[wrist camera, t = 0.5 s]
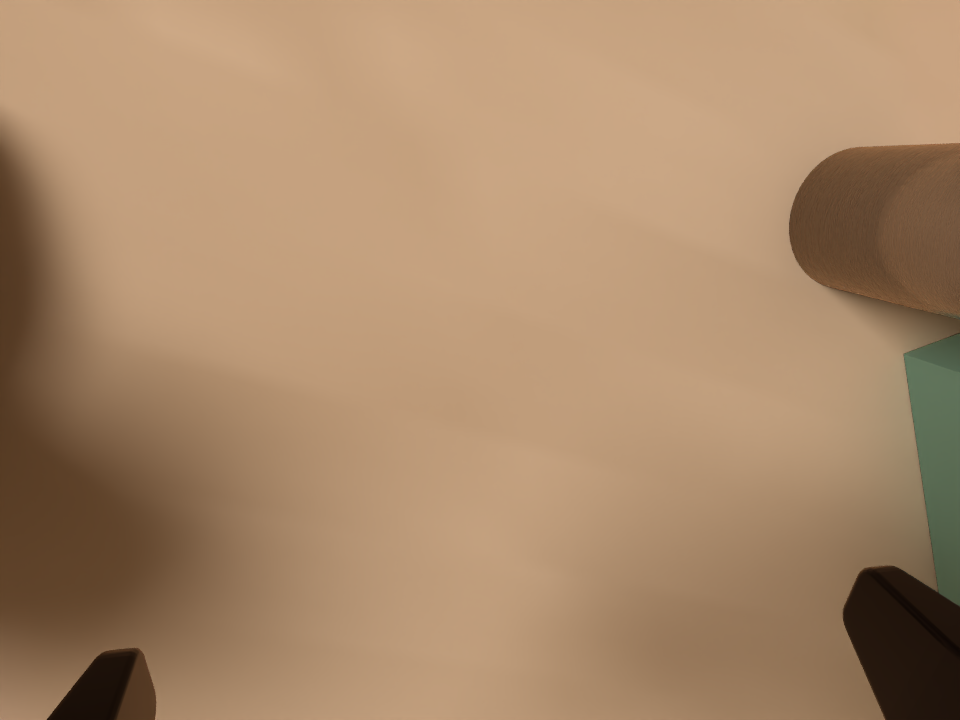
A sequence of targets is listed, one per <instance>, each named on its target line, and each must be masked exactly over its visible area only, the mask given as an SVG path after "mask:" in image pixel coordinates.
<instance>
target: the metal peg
mask: <svg viewBox="0 0 960 720" xmlns="http://www.w3.org/2000/svg"><path fill="white" fill-rule="evenodd" d="M789 235H790V242H791V246H792V250H793V253H794V255H795V258H796V260H797V262H798V263H799V265H800V266H801V268H802V269H803V270H804V272H805V273H806V274H808V275H809V276H810V277H811V278H812V279H814V280H815V281H817V282H818V283H820V284H823V285H825V286H828V287H831V288H835V289H839V290H843V291H847V292H851V293H855V294H859V295H863V296H867V297H871V298H875V299H879V300H883V301H887V302H891V303H895V304H899V305H903V306H907V307H911V308H915V309H919V310H923V311H927V312H931V313H935V314H939V315H943V316H947V317H952V318H956V319H960V143H950V144H924V145H898V146H873V147H856V148H849V149H846V150H842V151H840V152H837V153H835V154H833V155H831V156H830V157H828V158H826V159H825V160H824V161H822V162H821V163H820V164H819V165H817V166H816V167H815V168H814V169H813V170H812V171H811V173H810V174H809V175H808V176H807V178H806V179H805V180H804V182H803V183H802V185H801V187H800V189H799V191H798V193H797V195H796V197H795V200H794V203H793V206H792V210H791V214H790V222H789Z"/></svg>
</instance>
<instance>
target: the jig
mask: <svg viewBox="0 0 960 720" xmlns="http://www.w3.org/2000/svg"><path fill="white" fill-rule="evenodd" d="M904 360H905V366H906V373H907V380H908V387H909V394H910V401H911V407H912V414H913V421H914V428H915V435H916V442H917V448H918V455H919V462H920V469H921V476H922V482H923V489H924V496H925V503H926V510H927V517H928V523H929V530H930V537H931V544H932V551H933V557H934V564H935V571H936V578H937V585H938V592H939V593H940V594H941V595H943V596H944V597H946V598H948V599H949V600H951V601H952V602H954V603H956V604H957V605H959V606H960V333H959V334H956V335H953V336H951V337H948V338H945V339H943V340H940V341H937V342H935V343H932V344H929V345H927V346H924V347H921V348H918V349H916V350H913V351H910V352H908V353H905V354H904Z"/></svg>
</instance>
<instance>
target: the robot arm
mask: <svg viewBox="0 0 960 720" xmlns="http://www.w3.org/2000/svg"><path fill="white" fill-rule="evenodd" d="M843 621H844V625H845V628H846V630H847V633H848V635H849V637H850V640H851V642H852V644H853V647H854V649H855V651H856V653H857V656H858V658H859V660H860V663H861V665H862V667H863V669H864V672H865V674H866V676H867V679H868V681H869V683H870V686H871V688H872V690H873V692H874V695H875V697H876V699H877V702H878V704H879V706H880V709H881V711H882V713H883V715H884V718H885V720H960V606H959V605H957V604H956V603H954V602H952V601H951V600H949V599H948V598H946V597H944V596H943V595H941V594H940V593H938V592H936V591H935V590H933V589H932V588H930V587H928V586H927V585H925V584H924V583H922V582H920V581H919V580H917V579H916V578H914V577H913V576H911V575H909V574H908V573H906V572H905V571H903V570H901V569H899V568H897V567H895V566H877V567H868V568H865V569H863V570H862V571H860V573H859V574H858V576H857V578H856V581H855V583H854V585H853V587H852V590H851V592H850V594H849V596H848V598H847V601H846V603H845V605H844V608H843ZM155 714H156V695H155V689H154V686H153V683H152V680H151V676H150V673H149V670H148V667H147V663H146V660H145V657H144V654H143V653H142V651H141V650H140V649H138V648H128V649H119V650H110V651H106V652H103V653H101V654H100V655H99V656H97V657H96V659H95V660H94V661H93V662H92V663H91V665H90V666H89V667H88V668H87V670H86V671H85V672H84V673H83V675H82V676H81V677H80V678H79V680H78V681H77V682H76V683H75V685H74V686H73V687H72V688H71V690H70V691H69V692H68V694H67V695H66V696H65V697H64V699H63V700H62V701H61V702H60V704H59V705H58V706H57V707H56V709H55V710H54V711H53V712H52V714H51V715H50V716H49V717H48V719H47V720H155Z"/></svg>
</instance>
